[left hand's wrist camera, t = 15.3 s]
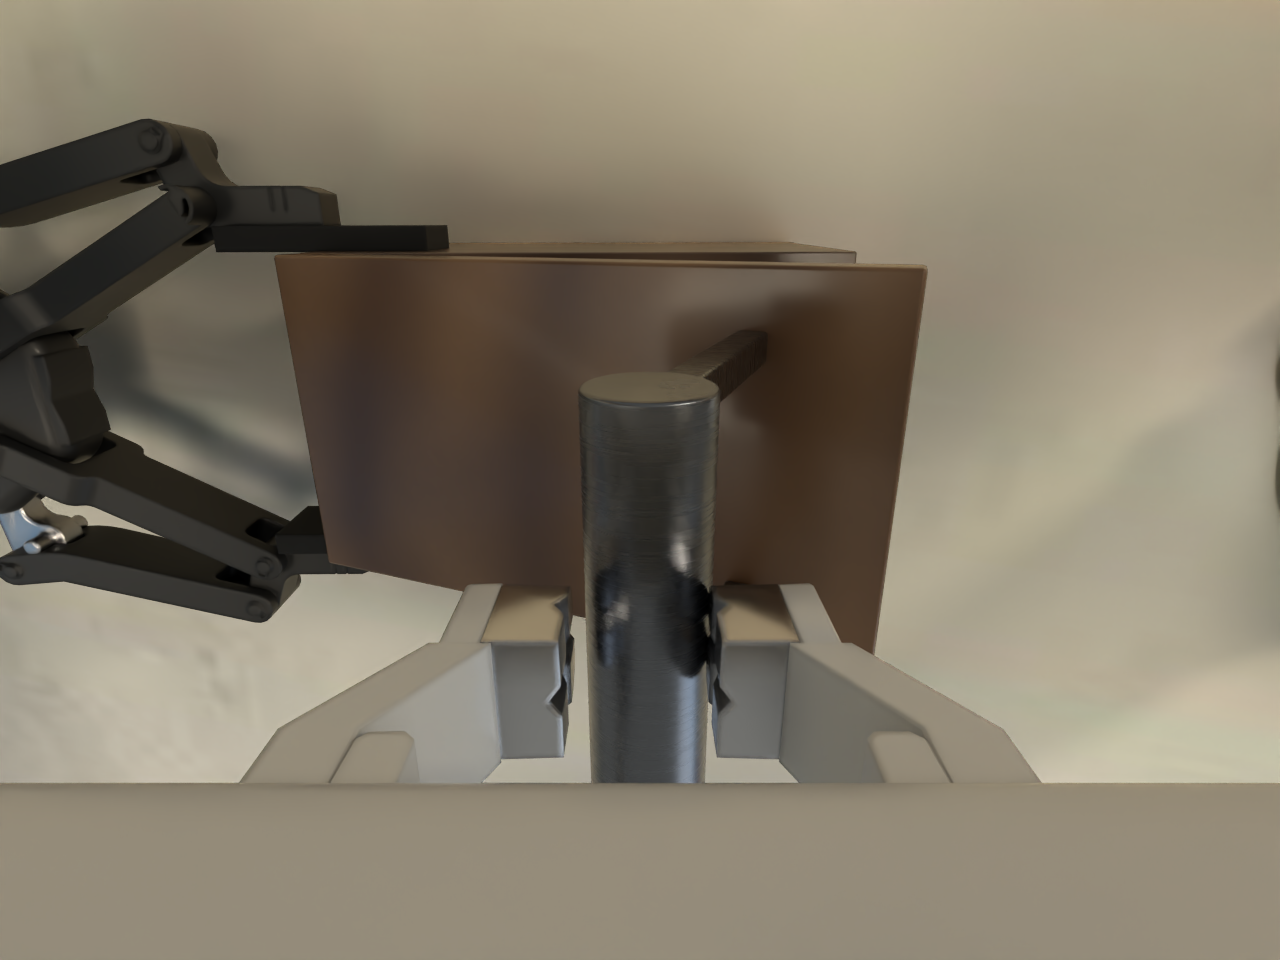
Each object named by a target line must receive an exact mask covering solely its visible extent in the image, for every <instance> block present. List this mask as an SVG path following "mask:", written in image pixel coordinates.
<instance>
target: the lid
mask: <svg viewBox="0 0 1280 960" xmlns="http://www.w3.org/2000/svg"><path fill="white" fill-rule="evenodd" d="M274 259H275V265H276V270H277V276H278V281H279V287H280V293H281V298H282V304H283V309H284V315H285V320H286V326H287V331H288V337H289V343H290V348H291V354H292V359H293V365H294V370H295V376H296V381H297V387H298V393H299V398H300V404H301V409H302V415H303V420H304V426H305V431H306V437H307V443H308V448H309V454H310V459H311V465H312V470H313V476H314V482H315V487H316V493H317V498H318V504H319V509H320V515H321V520H322V526H323V532H324V537H325V543H326V548H327V554H328V559H329V562H330V563H334V564H338V565H343V566H347V567H352V568H357V569H361V570H366V571H371V572H375V573H380V574H385V575H389V576H394V577H398V578H403V579H408V580H412V581H417V582H422V583H426V584H431V585H435V586H440V587H445V588H449V589H454V590H459V591H463V592H464V590H465V588H466V587H467V586H468V585H471V584H499V583H502V584H503V585H505V584H521V585H571V590H572V601H573V615H574V616H579V617H584V618H586V639H587V668H588V698H589V727H590V756H591V783H705V763H706V738H707V713H708V693H707V682H706V640H707V637H708V636H709V635H710V627H709V621H708V614H707V613H708V592H709V587H710V586H718V585H760V584H778V585H782V584H805V583H809V584H811V585H813V586H814V588H815V590H816V592H817V594H818V596H819V598H820V600H821V602H822V604H823V606H824V608H825V610H826V612H827V614H828V616H829V618H830V620H831V622H832V624H833V626H834V628H835V631H836V633H837V635H838V637H839V639H840V641H841V643H853V644H854V645H856V646H858V647H860V648H861V649H863V650H865V651H867V652H868V653H870V654H872V655H874V653H875V646H876V638H877V631H878V624H879V617H880V610H881V603H882V595H883V588H884V581H885V574H886V567H887V559H888V552H889V545H890V538H891V531H892V524H893V516H894V509H895V502H896V495H897V488H898V481H899V473H900V466H901V459H902V452H903V445H904V437H905V430H906V423H907V416H908V409H909V402H910V394H911V387H912V380H913V373H914V366H915V358H916V351H917V344H918V337H919V330H920V323H921V315H922V308H923V301H924V294H925V287H926V280H927V266H925V265H905V264H852V263H798V262H745V261H691V260H638V259H584V258H531V257H477V256H424V255H370V254H317V253H300V254H281V255H276V256H275V258H274Z"/></svg>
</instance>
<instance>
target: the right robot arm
mask: <svg viewBox="0 0 1280 960" xmlns="http://www.w3.org/2000/svg"><path fill="white" fill-rule="evenodd" d="M217 156H218V150H217V146H216V143H215V142H214V140H213V139H212V137H211V136H210V135H208V134H207V133H206V132H204V131H201V130H199V129H195V128H190V127H185V126H181V125H176V124H171V123H167V122H162V121H157V120H152V119H141V120H138V121H134V122H131V123H128V124H125V125H122V126H119V127H116V128H113V129H110V130H107V131H104V132H100V133H97V134H94V135H91V136H88V137H85V138H82V139H79V140H76V141H73V142H70V143H66V144H63V145H60V146H57V147H54V148H51V149H48V150H45V151H42V152H39V153H35V154H32V155H29V156H26V157H23V158H20V159H17V160H14V161H11V162H8V163H5V164H1V165H0V227H17V226H24V225H29V224H33V223H37V222H40V221H43V220H46V219H49V218H53V217H56V216H59V215H62V214H65V213H69V212H72V211H75V210H78V209H81V208H84V207H88V206H91V205H94V204H97V203H100V202H104V201H107V200H110V199H113V198H116V197H119V196H123V195H126V194H129V193H132V192H135V191H139V190H142V189H145V188H148V187H151V186H155V185H158V184H161V183H164V185H161V186H158V188H159V189H160V190H163V191H168V192H167V193H166V194H164V195H163V196H161V197H160V198H158V199H157V200H155V201H154V202H152V203H151V204H150V205H148V206H147V207H145V208H144V209H142V210H141V211H139V212H138V213H136V214H135V215H134V216H132V217H131V218H129V219H128V220H126V221H125V222H123V223H122V224H120V225H119V226H117V227H116V228H115V229H113V230H112V231H110V232H109V233H107V234H106V235H104V236H103V237H101V238H100V239H99V240H97V241H96V242H94V243H93V244H91V245H90V246H88V247H87V248H85V249H84V250H82V251H81V252H80V253H78V254H77V255H75V256H74V257H72V258H71V259H69V260H68V261H66V262H65V263H64V264H62V265H61V266H59V267H58V268H56V269H55V270H53V271H52V272H50V273H49V274H47V275H46V276H45V277H43V278H42V279H40V280H39V281H37V282H36V283H34V284H33V285H31V286H30V287H29V288H27V289H25V290H23V291H21V292H18V293H15V294H12V295H9V294H7V293H5V292H4V291H2V290H0V524H1V526H2V528H3V530H4V532H5V535H6V537H7V539H8V541H9V544H10V546H11V548H12V550H13V551H12V552H10V553H8V554H6V555H4V556H2V557H1V558H0V577H1V578H2V579H3V580H4V581H6V582H8V583H10V584H13V585H27V584H39V583H51V582H63V581H64V582H69V583H74V584H78V585H83V586H88V587H92V588H97V589H102V590H106V591H111V592H116V593H120V594H125V595H130V596H134V597H139V598H144V599H148V600H153V601H158V602H162V603H167V604H172V605H176V606H181V607H186V608H190V609H195V610H200V611H204V612H209V613H214V614H218V615H223V616H228V617H232V618H237V619H242V620H246V621H251V622H257V623H262V622H265V621H267V620H268V619H269V618H271V617H272V615H273V614H274V613H275V612H276V611H277V610H278V609H279V608H280V607H281V606H282V604H283V603H284V602H285V601H286V600H287V599H288V598H289V597H290V596H291V594H292V593H293V592H294V591H295V590H296V589H297V588H298V587H299V585H300V583H301V577H300V575H299V574H335V573H337V574H346V573H348V574H363V573H366V572H368V571H366V570H361V569H357V568H352V567H347V566H343V565H338V564H334V563H330V562H329V559H328V554H327V548H326V543H325V537H324V532H323V526H322V520H321V515H320V509H319V506H307V507H306V508H305V509H304V510H303V511H302V512H300V513H299V514H298V515H297V516H296V517H295V518H294V519H293V520H291V521H288V520H286V519H284V518H282V517H279V516H277V515H275V514H273V513H271V512H268V511H266V510H264V509H262V508H260V507H257V506H255V505H253V504H251V503H248V502H246V501H244V500H242V499H240V498H237V497H235V496H233V495H231V494H229V493H226V492H224V491H222V490H220V489H218V488H215V487H213V486H211V485H209V484H206V483H204V482H202V481H200V480H198V479H195V478H193V477H191V476H189V475H187V474H184V473H182V472H180V471H178V470H176V469H173V468H171V467H169V466H167V465H164V464H162V463H160V462H158V461H156V460H153V459H151V458H149V457H147V456H145V455H144V451H143V448H142V447H141V446H139V445H138V444H136V443H134V442H131V441H129V440H127V439H125V438H123V437H120V436H118V435H116V434H114V433H112V432H109V430H111V428H110V425H109V421H108V417H107V414H106V410H105V408H104V406H103V405H102V403H101V401H100V399H99V398H98V396H97V394H96V392H95V390H94V381H93V364H92V361H91V357H90V353H89V350H88V346H79V345H78V343H77V342H76V339H77V338H79V337H80V336H82V335H83V334H85V333H86V332H88V331H89V330H91V329H92V328H94V327H96V326H97V325H99V324H100V323H102V322H103V321H104V320H106V319H107V318H108V316H107V314H108V313H110V312H111V311H113V310H114V309H116V308H117V307H119V306H120V305H122V304H123V303H125V302H126V301H128V300H129V299H131V298H132V297H134V296H135V295H137V294H138V293H140V292H141V291H143V290H144V289H146V288H147V287H149V286H150V285H152V284H153V283H155V282H156V281H158V280H159V279H161V278H162V277H164V276H165V275H167V274H169V273H170V272H172V271H173V270H175V269H176V268H178V267H179V266H181V265H182V264H184V263H185V262H187V261H188V260H190V259H191V258H193V257H194V256H196V255H197V254H199V253H200V252H202V251H203V250H205V249H206V248H208V247H209V246H211V245H212V244H214V243H215V248H216V252H329V251H433V250H439V249H446V248H449V240H448V230H447V225H383V226H341V223H340V216H339V209H338V202H337V196H336V194H334V193H331V192H329V191H326V190H324V189H321V188H315V187H306V186H238V185H236V184H234V183H233V182H231V181H230V180H229V179H228V178H227V177H226V176H225V174H224V173H223V171H222V169H221V167H220V166H219V164H218V162H217ZM45 496H46V497H48V498H51V499H53V500H55V501H58V502H60V503H63V504H66V505H72V506H82V505H88V506H92V507H95V508H98V509H100V510H102V511H104V512H107V513H109V514H111V515H114V516H116V517H118V518H121V519H123V520H125V521H128V522H130V523H132V524H134V525H137V526H139V527H141V528H144V529H146V530H148V531H151V532H153V533H155V534H158V535H160V536H162V537H159V536H154V535H150V534H145V533H141V532H137V531H132V530H128V529H123V528H117V527H112V526H88V522H87V520H86V519H85V518H84V517H83V516H80V515H75V516H73V517H68V516H64V515H58V514H55V513H53V512H51V511H50V510H48V509H47V508H46V507H45V506H44V504H43V503H42V501H41V499H42V498H44V497H45ZM163 537H165V538H163Z"/></svg>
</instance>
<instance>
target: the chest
mask: <svg viewBox="0 0 1280 960" xmlns="http://www.w3.org/2000/svg"><path fill="white" fill-rule="evenodd" d="M305 253H317V254H370V255H424V256H477V257H531V258H584V259H638V260H691V261H745V262H798V263H852V264H855V263H856V252H855V251H848V250H840V249H833V248H826V247H818V246H811V245H804V244H796V243H792V242H677V243H449V248H446V249H439V250H433V251H329V252H305Z"/></svg>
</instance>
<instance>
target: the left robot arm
mask: <svg viewBox="0 0 1280 960" xmlns="http://www.w3.org/2000/svg"><path fill="white" fill-rule="evenodd" d="M707 614H708V621H709V627H710V635H709V636H708V637H707V640H706V682H707V693H708V700H709V703H710V704H712V728H713V735H714V741H715V747H716V754H717V757H721V758H757V759H779V762H780V763H781V764H782V765H783V766H784V767H785V768H786V769H787V770H788V772H789V773H790V774H791V775H792V776H793V777H794V778H795V779H796V780H797V781H798V782H799V783H482V782H483V781H484V780H485V779H486V778H487V777H488V776H489V775H490V774H491V772H492V771H493V770H494V769H495V768H496V767H497V766H498V765H499V764H500V763H501V759H522V758H558V757H564V751H565V744H566V738H567V731H568V724H569V719H568V705H569V704H570V703H571V702H572V696H573V687H574V671H575V648H574V638H573V636H572V635H571V634H570V630H571V623H572V617H573V601H572V590H571V585H521V584H505V585H503V584H502V583H499V584H471V585H468V586H467V587H466V588H465V590H464V592H463V594H462V596H461V598H460V600H459V602H458V604H457V606H456V609H455V611H454V613H453V615H452V617H451V619H450V621H449V623H448V625H447V627H446V629H445V631H444V633H443V635H442V638H441V640H440V642H439V643H428V644H426V645H424V646H423V647H421V648H419V649H417V650H416V651H414V652H412V653H410V654H408V655H407V656H405V657H403V658H401V659H400V660H398V661H396V662H394V663H393V664H391V665H389V666H387V667H386V668H384V669H382V670H380V671H379V672H377V673H375V674H373V675H372V676H370V677H368V678H366V679H364V680H363V681H361V682H359V683H357V684H356V685H354V686H352V687H350V688H349V689H347V690H345V691H343V692H342V693H340V694H338V695H336V696H335V697H333V698H331V699H329V700H328V701H326V702H324V703H322V704H321V705H319V706H317V707H315V708H313V709H312V710H310V711H308V712H306V713H305V714H303V715H301V716H299V717H298V718H296V719H294V720H292V721H291V722H289V723H287V724H285V725H284V726H282V727H280V728H278V729H277V731H276V732H275V734H274V735H273V736H272V738H271V739H270V741H269V742H268V743H267V745H266V746H265V747H264V749H263V750H262V752H261V753H260V754H259V756H258V757H257V759H256V760H255V761H254V763H253V764H252V766H251V767H250V768H249V770H248V771H247V772H246V774H245V775H244V777H243V778H242V779H241V781H240V782H239V783H0V960H1280V783H1042V782H1041V781H1040V780H1039V778H1038V777H1037V776H1036V774H1035V773H1034V771H1033V770H1032V769H1031V767H1030V766H1029V764H1028V763H1027V762H1026V760H1025V759H1024V757H1023V756H1022V755H1021V753H1020V752H1019V750H1018V749H1017V748H1016V746H1015V745H1014V743H1013V742H1012V741H1011V739H1010V738H1009V736H1008V735H1007V734H1006V732H1005V731H1004V729H1002V728H1000V727H998V726H996V725H995V724H993V723H991V722H989V721H988V720H986V719H984V718H982V717H981V716H979V715H977V714H975V713H974V712H972V711H970V710H968V709H967V708H965V707H963V706H961V705H960V704H958V703H956V702H954V701H953V700H951V699H949V698H947V697H946V696H944V695H942V694H940V693H939V692H937V691H935V690H933V689H932V688H930V687H928V686H926V685H925V684H923V683H921V682H919V681H918V680H916V679H914V678H912V677H911V676H909V675H907V674H905V673H904V672H902V671H900V670H898V669H897V668H895V667H893V666H891V665H890V664H888V663H886V662H884V661H882V660H881V659H879V658H877V657H875V656H874V655H872V654H870V653H868V652H867V651H865V650H863V649H861V648H860V647H858V646H856V645H854V644H853V643H841V641H840V639H839V637H838V635H837V633H836V631H835V628H834V626H833V624H832V622H831V620H830V618H829V616H828V614H827V612H826V610H825V608H824V606H823V604H822V602H821V600H820V598H819V596H818V594H817V592H816V590H815V588H814V586H813V585H811V584H809V583H805V584H782V585H778V584H760V585H718V586H710V587H709V592H708V613H707Z"/></svg>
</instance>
